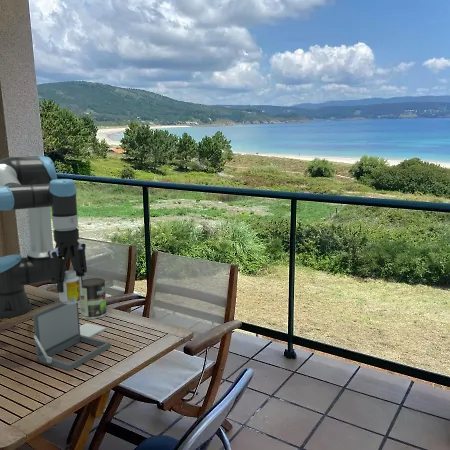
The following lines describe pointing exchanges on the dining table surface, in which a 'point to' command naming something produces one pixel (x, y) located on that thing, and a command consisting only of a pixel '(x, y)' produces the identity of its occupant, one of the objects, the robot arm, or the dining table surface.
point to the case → (61, 335)
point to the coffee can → (93, 298)
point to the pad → (90, 329)
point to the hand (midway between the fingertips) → (71, 297)
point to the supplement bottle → (72, 287)
